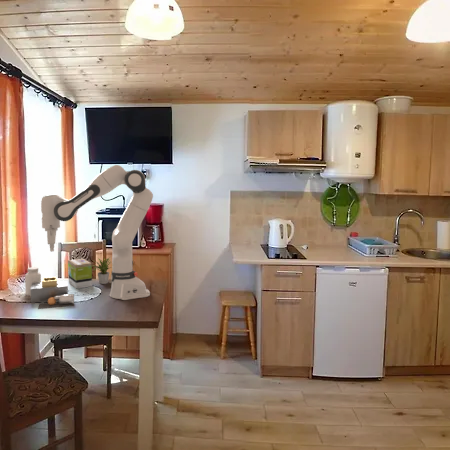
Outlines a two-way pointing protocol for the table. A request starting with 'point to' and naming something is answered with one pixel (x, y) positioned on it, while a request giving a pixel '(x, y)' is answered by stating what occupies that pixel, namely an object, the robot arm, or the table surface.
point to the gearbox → (48, 289)
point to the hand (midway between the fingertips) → (52, 249)
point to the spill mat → (46, 305)
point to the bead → (51, 301)
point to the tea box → (80, 273)
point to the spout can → (65, 299)
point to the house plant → (103, 271)
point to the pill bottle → (31, 279)
